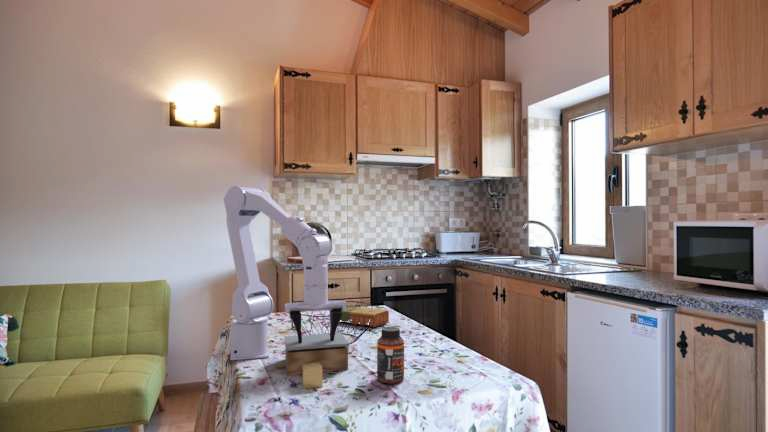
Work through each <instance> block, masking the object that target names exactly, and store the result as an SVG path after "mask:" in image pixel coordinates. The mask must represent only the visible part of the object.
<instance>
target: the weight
mask: <svg viewBox="0 0 768 432" xmlns="http://www.w3.org/2000/svg"><path fill="white" fill-rule="evenodd" d="M323 374H324V373H323V368H322V365H321V362H315V363H303V364H302V374H301V383H302V387H303V389H305V390H306V389H315V388H323V386H324V385H323V378H324V377H323Z"/></svg>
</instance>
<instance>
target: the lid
mask: <svg viewBox="0 0 768 432" xmlns="http://www.w3.org/2000/svg"><path fill="white" fill-rule="evenodd" d="M301 335H302V343H299V342H298V335H289V336H285V335H284V344H285V345H286V351H289V350H302V349H315V348H328V347H341V346H347V347H349V346H350V343H349V341H348V339H346V338H345V336H344V335H343V333H342V332H335V336H334V341H331V339H330V332H329V333H319V334H318V333H315V334H301Z"/></svg>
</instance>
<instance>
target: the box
mask: <svg viewBox="0 0 768 432" xmlns="http://www.w3.org/2000/svg"><path fill="white" fill-rule="evenodd" d="M284 347H285V348H284V349H285V351H284V353H285V357H284V359H285V366H286V375H287V376H291V375H302V364H303V363H315V362H321V365H322V368H323V372H324V373H325V372H336V371H348V370H349V348H348V346H341V347H328V348H315V349H302V350H289V351H286V345H285V346H284Z"/></svg>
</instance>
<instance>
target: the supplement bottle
mask: <svg viewBox="0 0 768 432" xmlns="http://www.w3.org/2000/svg"><path fill="white" fill-rule="evenodd" d="M400 334H401V329H400V328H399V327H397V326H384V327H381V336H380V337H379V338H378V339H377V341H376V342H377V344H376V345H377V347H376V351H377V355H376V358H377V361H376V362H377V363H376V367H377V368H376V371H377V372H376V376H377V377H376V378H377V380H378V381H379V382H380V383H384V384H389V385H390V384H391V385H392V384H398V383H400V382H402V381H403V380H404V378H405V340H404V339H403V338H402V336H401V335H400Z"/></svg>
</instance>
